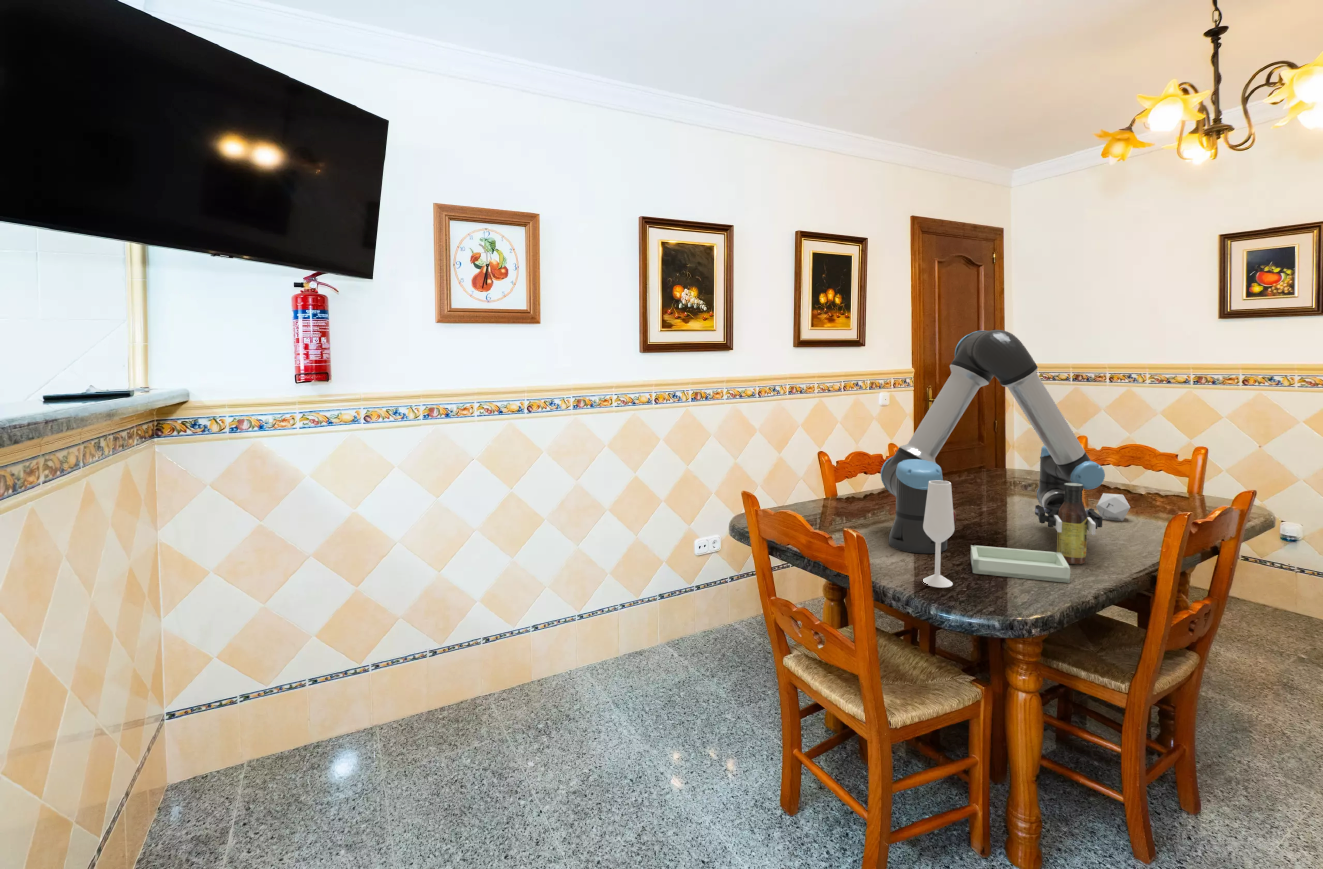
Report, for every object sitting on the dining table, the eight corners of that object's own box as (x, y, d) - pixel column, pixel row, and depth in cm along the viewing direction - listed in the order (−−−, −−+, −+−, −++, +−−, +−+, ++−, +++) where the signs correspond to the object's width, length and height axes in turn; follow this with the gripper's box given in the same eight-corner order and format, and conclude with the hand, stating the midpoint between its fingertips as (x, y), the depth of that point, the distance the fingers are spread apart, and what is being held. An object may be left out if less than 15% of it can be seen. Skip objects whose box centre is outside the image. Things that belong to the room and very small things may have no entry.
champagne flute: (915, 579, 149) (917, 481, 145) (937, 575, 151) (940, 478, 148) (936, 589, 142) (939, 486, 139) (959, 584, 145) (962, 483, 142)
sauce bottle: (1090, 565, 154) (1095, 487, 151) (1062, 564, 155) (1066, 487, 153) (1078, 557, 160) (1082, 481, 158) (1051, 556, 162) (1055, 481, 159)
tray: (972, 573, 152) (973, 559, 151) (970, 558, 162) (970, 545, 162) (1069, 583, 144) (1070, 568, 143) (1060, 566, 154) (1060, 552, 154)
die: (1088, 517, 198) (1091, 497, 192) (1106, 502, 200) (1110, 482, 194) (1115, 531, 192) (1119, 512, 186) (1133, 516, 194) (1138, 495, 188)
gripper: (1100, 521, 169) (1123, 546, 148) (1019, 516, 177) (1030, 539, 156) (1101, 494, 168) (1125, 516, 148) (1020, 490, 176) (1032, 510, 155)
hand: (1076, 528), depth 152 cm, fingers closed on sauce bottle, 6 cm apart
